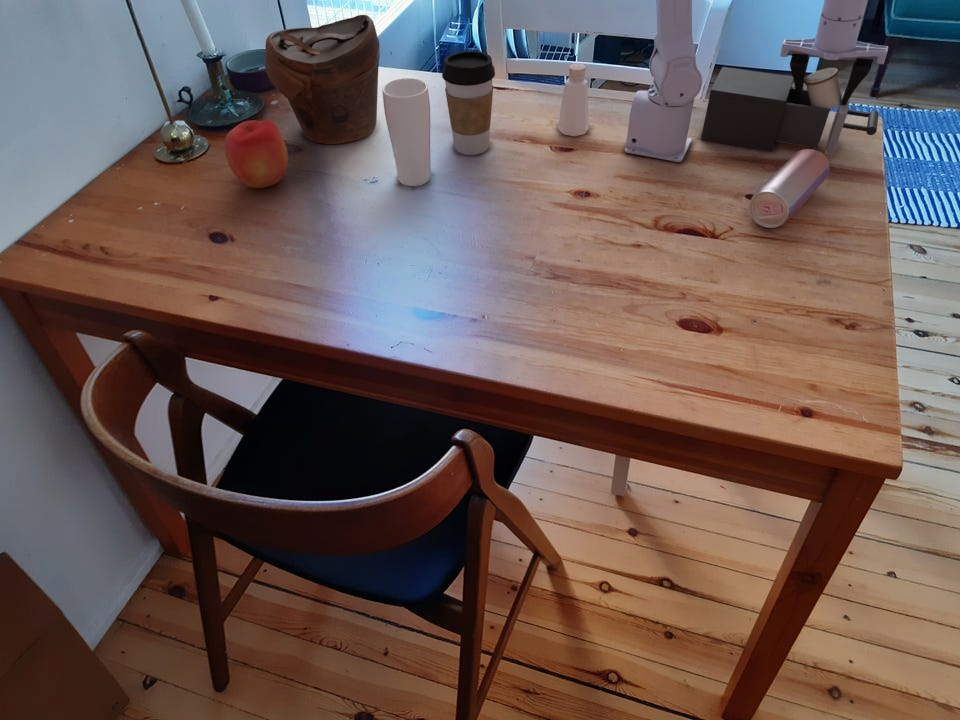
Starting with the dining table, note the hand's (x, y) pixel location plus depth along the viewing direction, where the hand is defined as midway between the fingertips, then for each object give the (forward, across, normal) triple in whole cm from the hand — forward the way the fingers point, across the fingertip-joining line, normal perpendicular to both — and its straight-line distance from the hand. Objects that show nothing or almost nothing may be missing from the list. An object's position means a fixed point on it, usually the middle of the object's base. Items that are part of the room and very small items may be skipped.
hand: (819, 103), depth 113 cm
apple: (+2, -78, -44) cm, 90 cm away
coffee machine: (+6, -11, 0) cm, 13 cm away
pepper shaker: (+5, -38, -9) cm, 39 cm away
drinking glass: (+3, -56, -34) cm, 66 cm away
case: (+2, -77, -24) cm, 81 cm away
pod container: (0, +1, 0) cm, 1 cm away
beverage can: (+4, +1, -13) cm, 14 cm away
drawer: (+6, +1, 0) cm, 6 cm away
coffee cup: (+4, -52, -21) cm, 56 cm away
